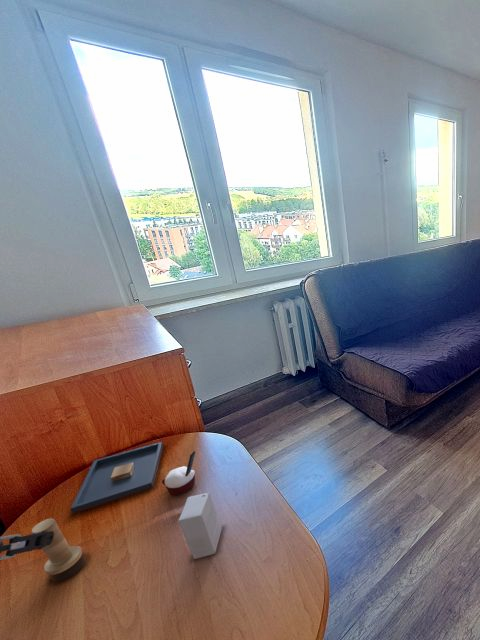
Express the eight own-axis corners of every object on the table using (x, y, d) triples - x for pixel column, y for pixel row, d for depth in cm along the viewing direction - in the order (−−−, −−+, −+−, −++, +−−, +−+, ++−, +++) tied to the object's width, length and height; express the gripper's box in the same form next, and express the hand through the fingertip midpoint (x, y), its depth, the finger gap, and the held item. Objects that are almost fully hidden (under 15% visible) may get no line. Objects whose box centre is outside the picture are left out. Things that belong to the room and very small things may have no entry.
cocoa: (160, 493, 86) (146, 458, 82) (184, 475, 92) (172, 441, 87) (186, 505, 83) (172, 468, 79) (209, 485, 89) (197, 450, 84)
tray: (73, 515, 80) (70, 508, 80) (96, 466, 95) (94, 460, 94) (153, 489, 88) (151, 482, 87) (164, 447, 102) (162, 441, 101)
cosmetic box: (201, 534, 76) (187, 496, 72) (222, 529, 77) (210, 491, 73) (192, 560, 71) (177, 521, 66) (215, 554, 72) (201, 515, 67)
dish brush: (46, 588, 66) (17, 543, 61) (57, 564, 70) (30, 520, 65) (81, 574, 68) (56, 530, 63) (90, 552, 72) (66, 509, 68)
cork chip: (112, 482, 89) (110, 477, 88) (116, 471, 92) (114, 467, 91) (131, 476, 90) (129, 472, 90) (134, 466, 94) (133, 462, 93)
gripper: (-13, 523, 49) (74, 511, 63) (-145, 547, 45) (-22, 528, 60) (-31, 585, 46) (64, 558, 60) (-173, 615, 42) (-37, 579, 57)
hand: (21, 543), depth 60 cm, fingers open, 8 cm apart
